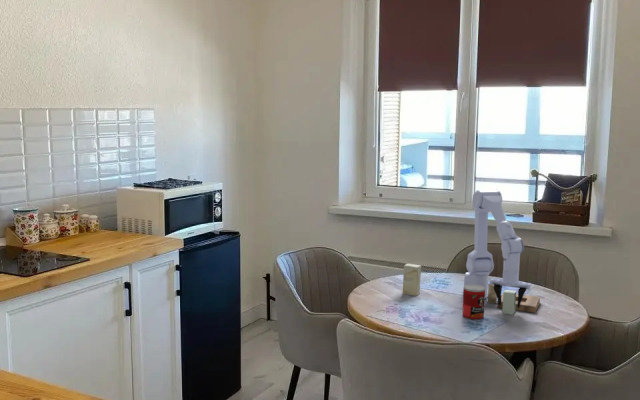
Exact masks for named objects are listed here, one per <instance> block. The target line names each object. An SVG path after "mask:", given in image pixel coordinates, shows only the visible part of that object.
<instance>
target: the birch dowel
mask: <svg viewBox="0 0 640 400" xmlns="http://www.w3.org/2000/svg"><path fill="white" fill-rule="evenodd" d="M493 287H494V285H490V283H488V296H487V304H488V303H489V304H497V301H498V299H497V295H496V293H495V291H494V288H493Z"/></svg>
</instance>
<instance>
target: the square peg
mask: <svg viewBox="0 0 640 400" xmlns="http://www.w3.org/2000/svg"><path fill="white" fill-rule="evenodd" d="M502 294H503V308H502V314H508V315H514V314H515V312H516V310H515V304H516V294H517V291H516V290H511V289H505V290H504V291H503V293H502Z"/></svg>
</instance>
